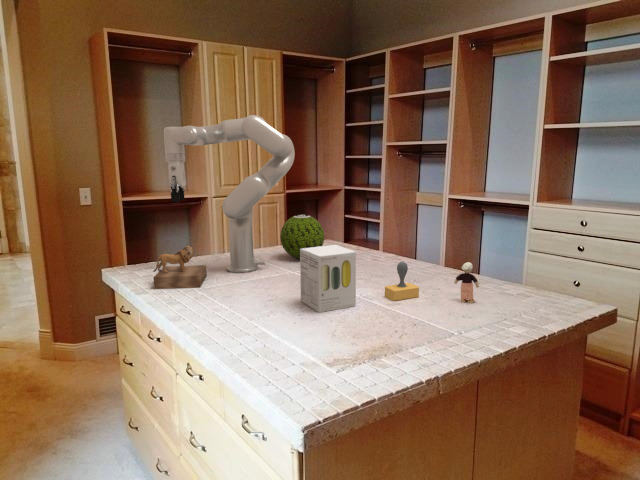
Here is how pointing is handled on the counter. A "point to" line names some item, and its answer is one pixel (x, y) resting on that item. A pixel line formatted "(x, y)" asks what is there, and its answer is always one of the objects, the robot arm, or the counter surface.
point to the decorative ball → (301, 234)
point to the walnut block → (180, 277)
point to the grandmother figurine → (467, 283)
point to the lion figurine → (175, 259)
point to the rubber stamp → (401, 286)
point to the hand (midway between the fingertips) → (178, 201)
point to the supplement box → (328, 277)
